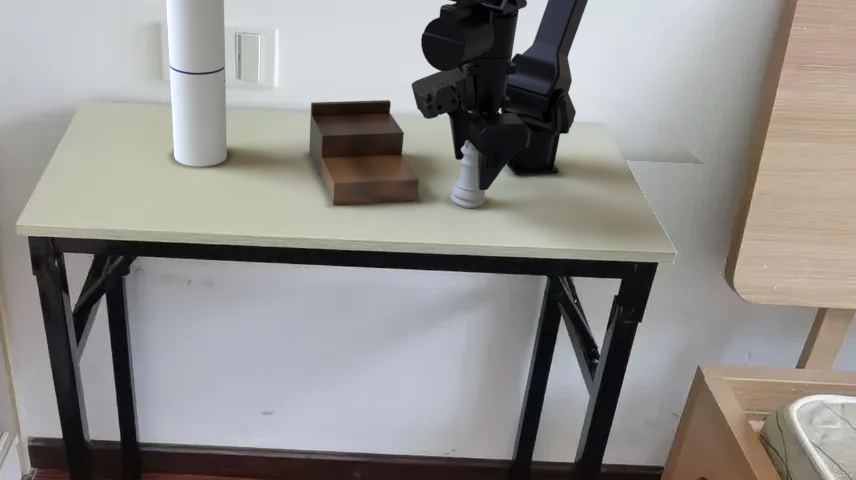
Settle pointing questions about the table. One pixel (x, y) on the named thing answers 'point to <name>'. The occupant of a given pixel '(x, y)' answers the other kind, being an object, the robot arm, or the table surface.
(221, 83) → the cylindrical container
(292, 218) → the table surface
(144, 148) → the table surface
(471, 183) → the rook chess piece
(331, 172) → the brown wooden stepped block
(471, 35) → the robot arm
